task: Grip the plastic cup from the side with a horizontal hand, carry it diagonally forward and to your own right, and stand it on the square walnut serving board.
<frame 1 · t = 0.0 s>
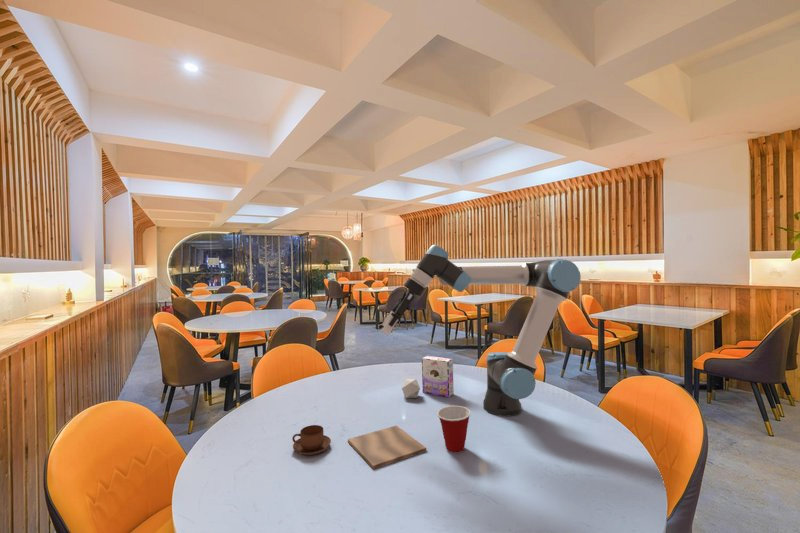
hand: (384, 329, 130), 36 cm above the table, tool tilted 35°, fingers open, 13 cm apart
walnut board: (386, 446, 115), on the table
die: (411, 397, 160), on the table
candy box: (437, 393, 164), on the table
plastic cup: (454, 448, 114), on the table
cup and saucer: (312, 449, 115), on the table
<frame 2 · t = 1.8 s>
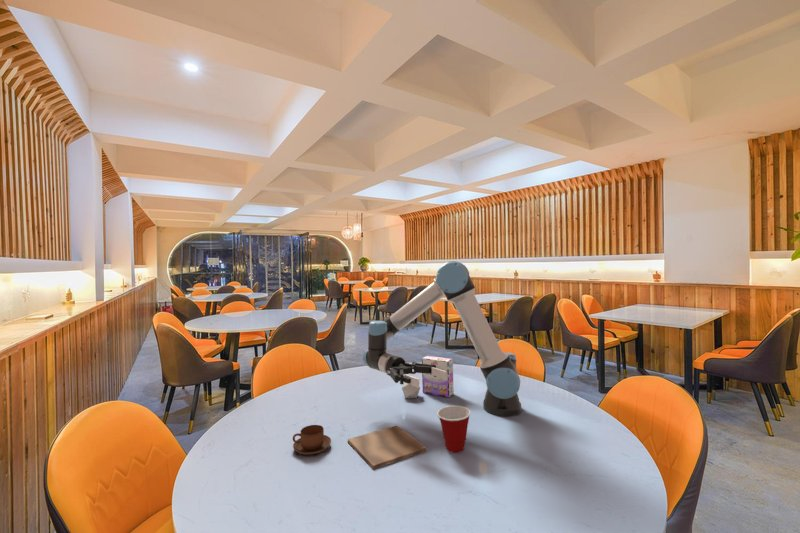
hand: (432, 379, 121), 20 cm above the table, tool horizontal, fingers open, 13 cm apart
nothing on the table moved.
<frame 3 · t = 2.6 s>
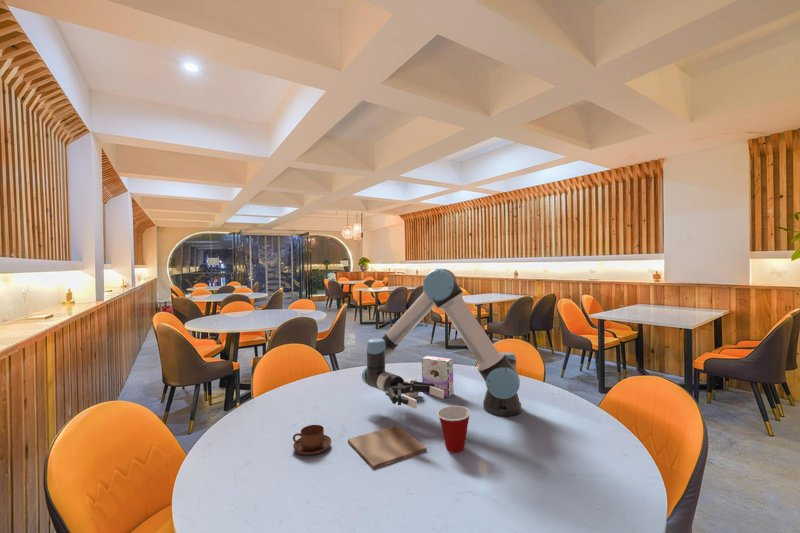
hand: (430, 399, 121), 13 cm above the table, tool horizontal, fingers open, 13 cm apart
nothing on the table moved.
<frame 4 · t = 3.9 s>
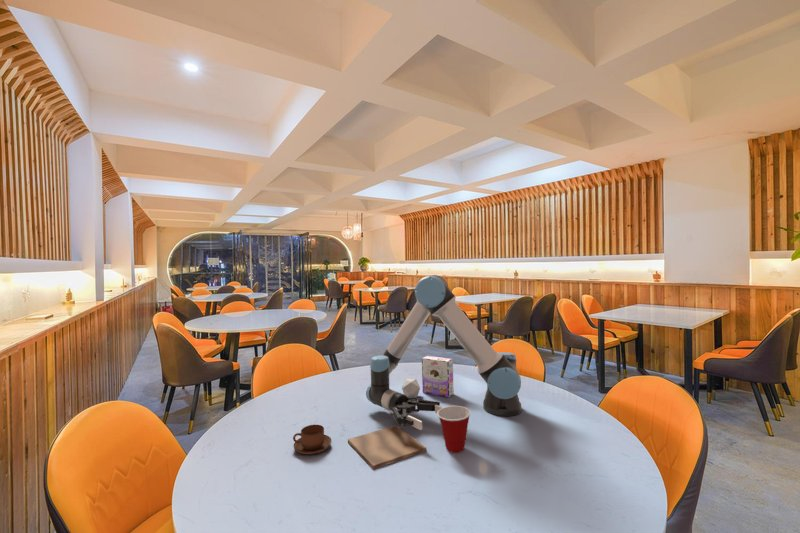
hand: (435, 419, 119), 7 cm above the table, tool horizontal, fingers open, 13 cm apart
nothing on the table moved.
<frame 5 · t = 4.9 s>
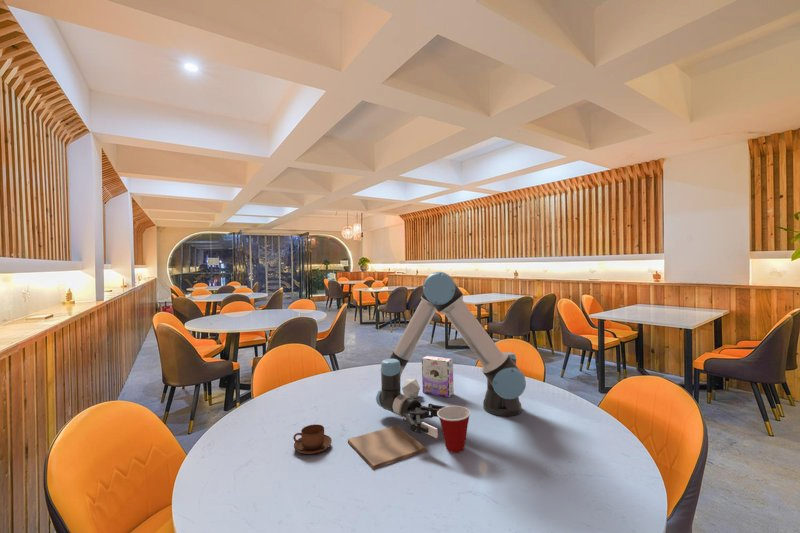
hand: (451, 426, 114), 7 cm above the table, tool horizontal, fingers open, 13 cm apart
nothing on the table moved.
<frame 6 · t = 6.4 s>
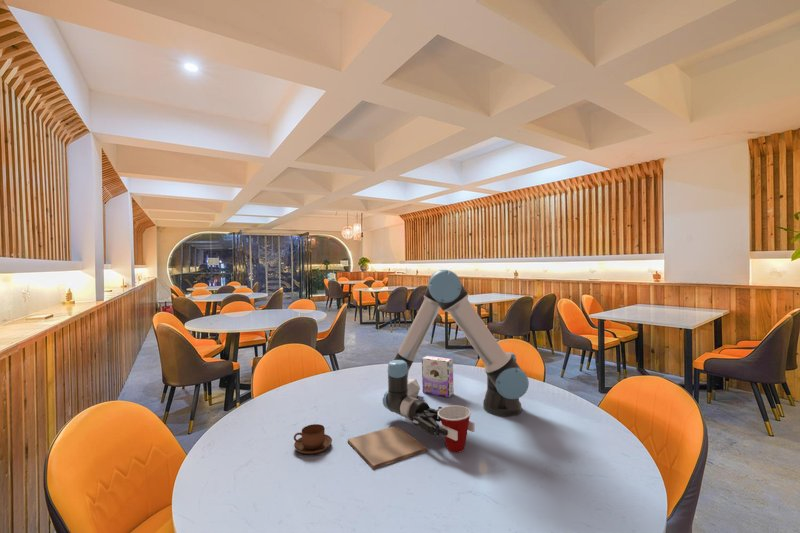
hand: (465, 431, 110), 7 cm above the table, tool horizontal, fingers closed on plastic cup, 8 cm apart
plastic cup: (454, 448, 114), on the table, touching gripper
everything else where it was.
when the fingers open (8 cm above the table, at t = 11.6 s): plastic cup moves 4 cm, resting on walnut board.
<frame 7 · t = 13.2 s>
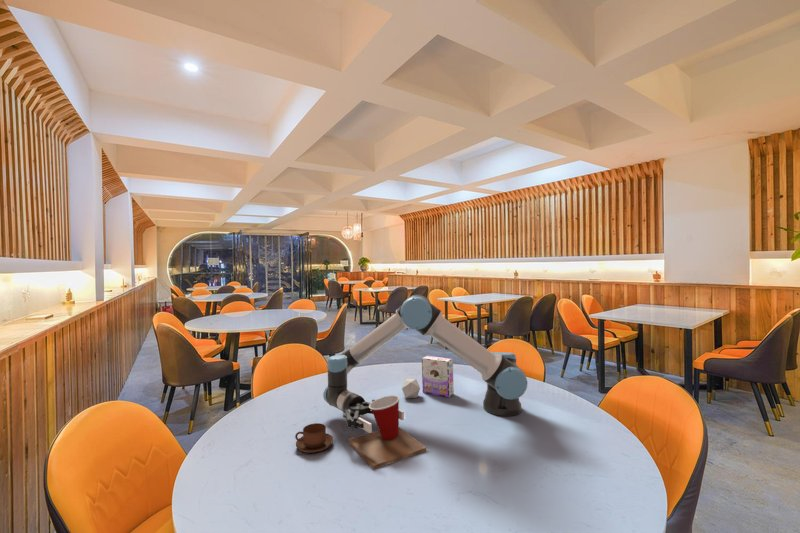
hand: (387, 422, 114), 8 cm above the table, tool horizontal, fingers open, 13 cm apart
plastic cup: (389, 436, 119), point 1 cm above the table, touching gripper, walnut board
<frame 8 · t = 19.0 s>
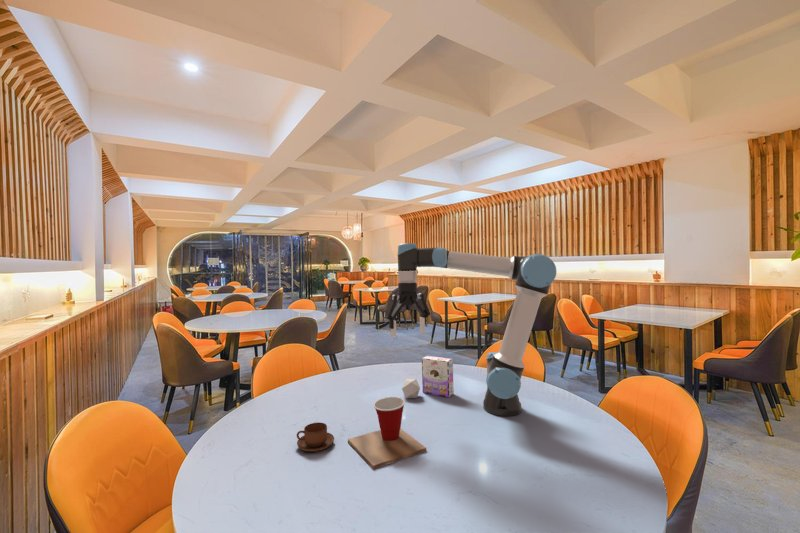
hand: (408, 335, 141), 32 cm above the table, tool pointing down, fingers open, 13 cm apart
plastic cup: (389, 437, 120), point 1 cm above the table, touching walnut board
at the end: plastic cup inside the target area on the walnut board (4.3 cm from its centre), point 0.8 cm above the walnut board's base; plastic cup tilted 0°; the gripper is holding nothing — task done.
